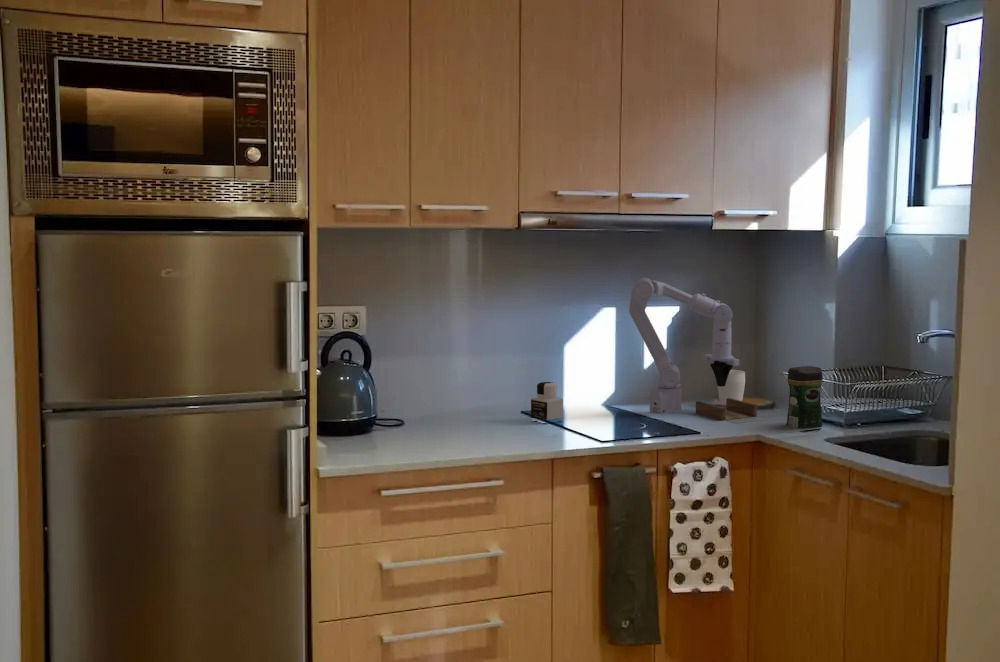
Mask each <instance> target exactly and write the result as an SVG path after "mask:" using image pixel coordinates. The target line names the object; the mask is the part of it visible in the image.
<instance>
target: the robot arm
mask: <svg viewBox="0 0 1000 662" xmlns="http://www.w3.org/2000/svg"><path fill="white" fill-rule="evenodd" d="M654 294H655V295H654ZM653 295H654V297H655V298H656V297H663V296H664V297H667V298H670V299H672V300H675V301H677V302H681V303H683V304H685V305H688V308H689V309H690V311H692V312H694V313H697V314H698V315H701V316H704V317H706V318H708V319H711V318H712V319H713V327H712V346H711V347H712V349H711V350H712V354H711V353H707V354H706V353H705V354H704V361H710V362H713V363H710V365H709V367H711V369H712V371H713V373H714V374H713V375H714V377H715V380H716V385H717V387H718V386H720V387H721V386H725V385H726V381H727V377H728V375H729V372H730V370H733V369H732V368H733V367H738V366H740V359H739V358H736V357H734V356H733V355H732V334H733V333H732V331H733V330H732V319H733V316H734V314H733V311H732V309H731V307H730V306H729V305H727V304H726V303H724V302H723V303H722V302H721V300H719V299H716V300H715V299H712V298H711V297H707V294H706V293H703V292H702V293H701V294H700V293H696V294H689V293H687V292H685V291H683V290H680V289H678V288H677V287H674V286H671V284H668V283H666V282H662V281H659V280H654V279H653V280H652V279H650V278H648V277H641V278H639V279H637V280H636V282H635V284H634V286H633V288H632V290H631V293H630V302H629V306H628V307H629V309H628V312H629V315H630V317H631V319H632V321H633V322H634V325H635V327H636V328H637V330H638V332H639V334H640V336H641V337H642V340H643V342H644V344H645V345H646V348H647V350H648V351H649V354H650V356H651V358H652V359H653V361H654V364H655V366H656V368H657V371H658V372H659V380H660V382H659V383H658V385H657V387H655V388H653V389H651V391H650V394H649V413H656V414H659V415H663V414H677V413H681V412H682V384H680V382H681V372H680V369H679V367H678V366H677V365H676V364H674V363H673V361H672V360H671V358H670V356H669V355H668V353H667V351H666V349H665V347H664V345H663V343H662V341H661V339H660V338H659V336H658V334H657V331H656V329H655V328H654V326H653V323H652V322H651V320H650V318H649V316H648V315H647V312H646V307H647V305H648V303H649V301H650V300H651V298H652V297H653Z"/></svg>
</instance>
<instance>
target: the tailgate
mask: <svg viewBox="0 0 1000 662" xmlns="http://www.w3.org/2000/svg"><path fill="white" fill-rule="evenodd" d="M762 421H766V419H764V418H760V417H758V416H757V417H750V418H742V419H733V420H725V421H724V422H729V423H733V424H736V425H737V424H745V423H752V422H762Z"/></svg>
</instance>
